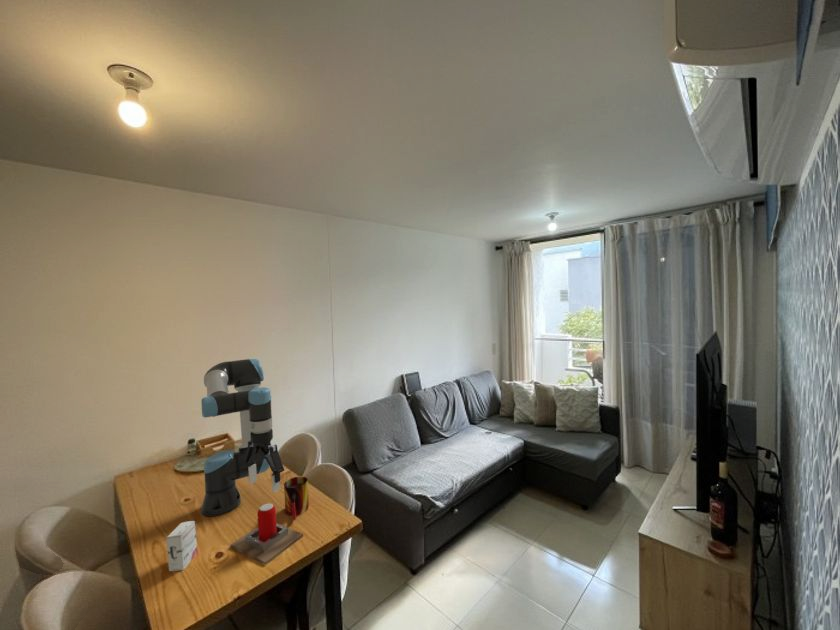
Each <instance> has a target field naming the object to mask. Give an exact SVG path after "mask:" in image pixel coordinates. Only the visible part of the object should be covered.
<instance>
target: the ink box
mask: <svg viewBox="0 0 840 630" xmlns="http://www.w3.org/2000/svg"><path fill="white" fill-rule="evenodd" d="M195 523H196V521H195V520H188V521H183V522H181V523H179V524H178V525H177V526H176V527H175V528H174V529H173V530H172V532H170V533H169V535H168V536H166V538H165V541H166V550H167V551H166V552H167V562H168V571H169V572H177V571H184V570H185V569H186V567H187V566H188V565H189V564H190V563H191V562H192V560H193V559H194V557H195V556H196V555H197V554H198V543H197V533H196V531H197V530H196V524H195Z"/></svg>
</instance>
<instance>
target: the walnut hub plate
mask: <svg viewBox="0 0 840 630" xmlns="http://www.w3.org/2000/svg"><path fill="white" fill-rule="evenodd" d="M276 523H277V524H279V525H282V526H284V527H287V528H288V535H287V536H286V537H284V538H283V539H282V540H280V541H279V542H277V543H276V544H275V545H273V546H272V547H271V548H269V549H268V550H266V551H265V552H262V551H260V550H258V549H256V548H254V547H252V546H250V545H248V544H246V540H245V537H246V536H247V535H249V534H250V533H252V532H253V531H255V530H257V529H258V526H257V527H255V528H254V529H252V530H250V531H249V532H247V533H246V534H244V535H242V536H241V537H239V538H238V539H237V540H235V541H233V542H232V543H230V548H232V549H234V550H235V551H238V552H240V553H242V554H243V555H245V556H247V557H249V558H251V559H253V560H254V561H257V562H258V563H261V564H262V565H264V566H267V565H268V564H269V563H271V562H272V561H273V560H275V558H277V557H279V556H280V555H281V554H283V552H285V551H286V550H287V549H289V548H290V547H291V546H293V545H294V544H296V542H298V541H299V540H300V539H302V538H303V537H304V533H303V532H300V531H297V530H295V529H293V528H290V527H288V526H285V525H283V524H280V523H278V522H276ZM257 539H258V540H259V537H258V538H257Z"/></svg>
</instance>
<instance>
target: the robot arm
mask: <svg viewBox="0 0 840 630" xmlns="http://www.w3.org/2000/svg"><path fill="white" fill-rule="evenodd" d="M204 374H205V375H204V376H203V384H204V386H205V388H206V396H205V397H202V398H201V401H200V402H201V415H202V417H203V418H212V417H213V418H215V417H218V416H225V415H228V414H233V413H239V419H240V420H239V421H240V431H241V432H240V433H241V444H240V445H239V446H238V451H237V452H235V451H234V450H233V449H226V450H221V451H217V452H216V453H213V454H212V455H210V456H209V457H207V458H206V459H205V460H204V463H203V467H204V468H203V473H204V491H205V494H204V497H203V501H202V504H201V514H202V515H203V516H206V517H215V516H221V515H224V514H227V513H229V512H231V511H233V510H234V509H236V508H237V507H238V506H239V505H241V502H242V501H241V500H242V498H241V494H240V492H239V490H238V488H237V485H236V480H240V479H241V480H242V479H244V478H247V477H248V484H250V485H251V484H254V483H256V482H257V481H258V475H259V474H262V473H265V472H267V471H268V469H269V468H270V470H271V472H272V474H271V488H272V489H271V490H272V493H276V492H277V491H279V490H281V473H283V472H284V471H285V467H284V465H283V462H282V460H281V456H280V454H279V451H278V445H277V444H274V445H272V443H271V441H272V440H273V438H274V434H273V433H274V432H273V416H272V395H271V389H270V388H269V387H262V383H261V382H263V381H264V379H265V376H264V371H263V366H262V363H261V361H260V360H259V359H257V358H247V359H240V360H231V361H230V360H229V361H223V362H219V363H217V364H215V365H213V366H212V367H211V368H209V369H208V370H207V371H206V373H204ZM229 386H234V387H233V389H234V390H235V391H236V392H230V393H229Z"/></svg>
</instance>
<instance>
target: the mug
mask: <svg viewBox="0 0 840 630" xmlns="http://www.w3.org/2000/svg"><path fill="white" fill-rule="evenodd" d="M283 489H284V490H283V493H284V495H283V496H284V509H285V510H284V511H285V512H284V513H285V514H286V515H287V516H289V517H292V521H296V519H297V516H300V515H303V514H305V513H306V512H308V510H309V508H310V501H309V499H310V498H309V484H308V477H306V476H295V477H291V478H289V479H287V480H286V481H285V482H284V483H283Z"/></svg>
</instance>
